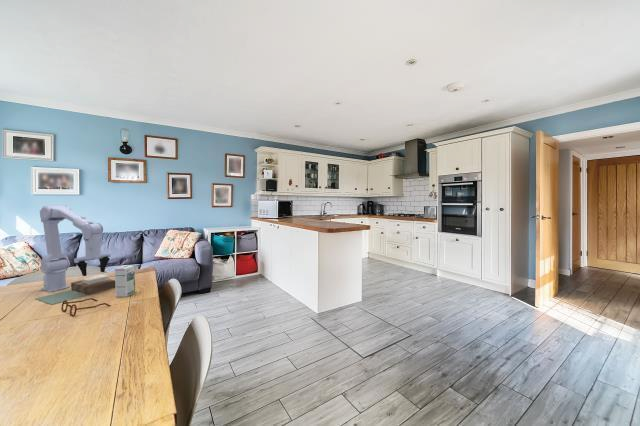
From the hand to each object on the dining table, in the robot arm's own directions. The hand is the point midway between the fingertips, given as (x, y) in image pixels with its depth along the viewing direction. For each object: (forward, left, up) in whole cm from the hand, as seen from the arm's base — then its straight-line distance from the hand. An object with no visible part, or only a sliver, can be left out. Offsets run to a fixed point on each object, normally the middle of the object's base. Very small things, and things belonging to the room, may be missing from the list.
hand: (93, 273), depth 131 cm
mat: (-7, -10, -10) cm, 16 cm away
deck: (-7, +3, -10) cm, 12 cm away
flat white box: (-7, +4, -6) cm, 10 cm away
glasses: (+19, -12, -10) cm, 25 cm away
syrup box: (+17, +5, -10) cm, 21 cm away
